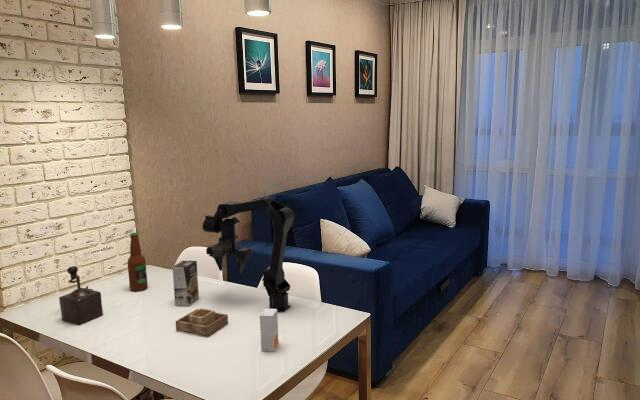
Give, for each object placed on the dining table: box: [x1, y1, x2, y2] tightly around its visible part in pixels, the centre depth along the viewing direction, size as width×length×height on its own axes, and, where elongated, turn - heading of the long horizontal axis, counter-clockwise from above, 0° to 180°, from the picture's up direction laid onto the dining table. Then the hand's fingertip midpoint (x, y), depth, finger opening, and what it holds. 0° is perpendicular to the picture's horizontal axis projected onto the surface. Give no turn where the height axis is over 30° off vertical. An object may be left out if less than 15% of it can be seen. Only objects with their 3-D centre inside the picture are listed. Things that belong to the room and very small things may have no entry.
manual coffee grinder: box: [58, 265, 104, 326], centre depth 181 cm, size 16×11×18 cm
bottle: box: [127, 232, 149, 293], centre depth 208 cm, size 7×7×25 cm
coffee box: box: [172, 260, 200, 307], centre depth 193 cm, size 9×6×16 cm
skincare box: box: [259, 307, 279, 353], centre depth 153 cm, size 6×4×12 cm
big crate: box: [175, 308, 229, 338], centre depth 170 cm, size 14×12×4 cm
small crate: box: [188, 307, 216, 326], centre depth 170 cm, size 6×7×4 cm
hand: (230, 272), depth 193 cm, fingers open, 9 cm apart
